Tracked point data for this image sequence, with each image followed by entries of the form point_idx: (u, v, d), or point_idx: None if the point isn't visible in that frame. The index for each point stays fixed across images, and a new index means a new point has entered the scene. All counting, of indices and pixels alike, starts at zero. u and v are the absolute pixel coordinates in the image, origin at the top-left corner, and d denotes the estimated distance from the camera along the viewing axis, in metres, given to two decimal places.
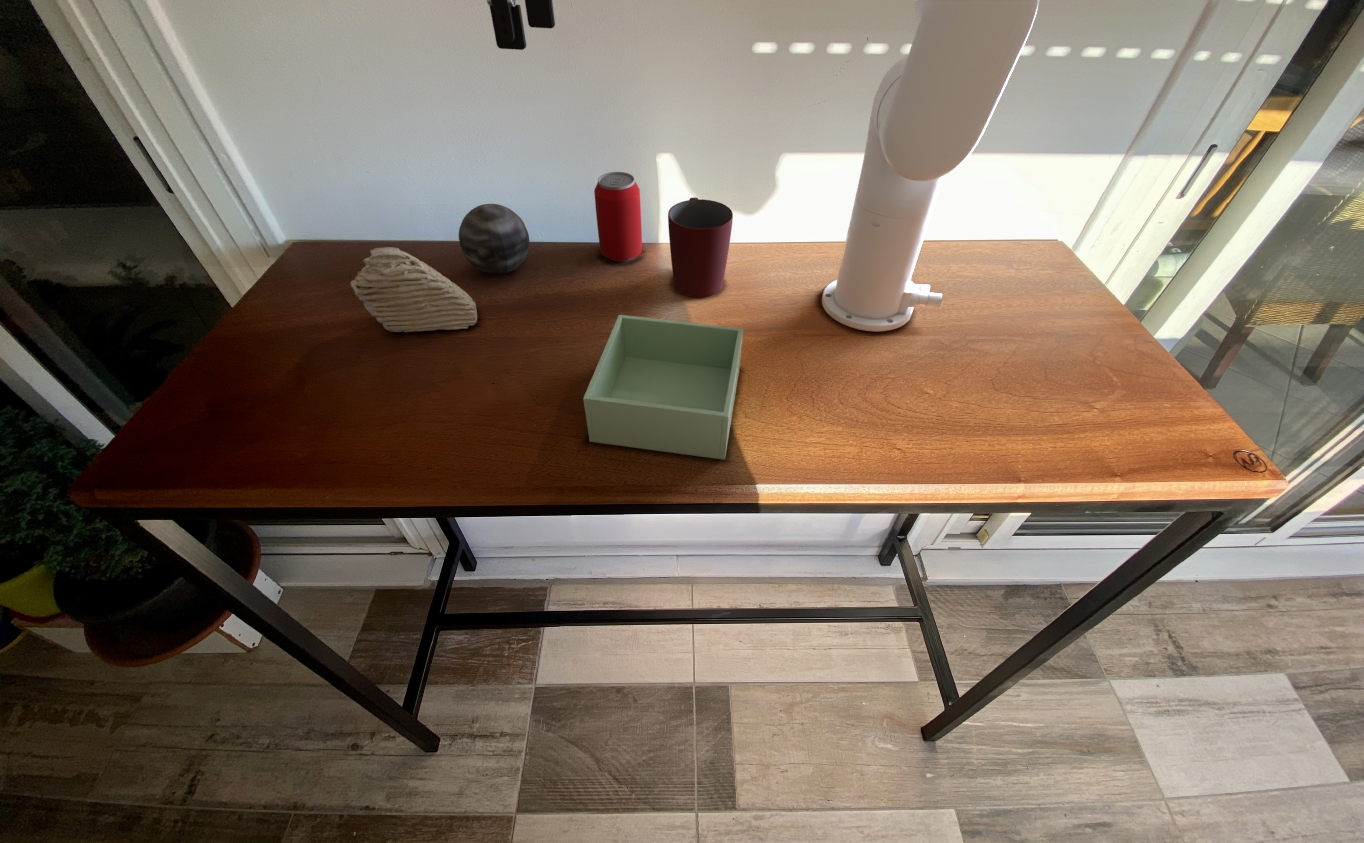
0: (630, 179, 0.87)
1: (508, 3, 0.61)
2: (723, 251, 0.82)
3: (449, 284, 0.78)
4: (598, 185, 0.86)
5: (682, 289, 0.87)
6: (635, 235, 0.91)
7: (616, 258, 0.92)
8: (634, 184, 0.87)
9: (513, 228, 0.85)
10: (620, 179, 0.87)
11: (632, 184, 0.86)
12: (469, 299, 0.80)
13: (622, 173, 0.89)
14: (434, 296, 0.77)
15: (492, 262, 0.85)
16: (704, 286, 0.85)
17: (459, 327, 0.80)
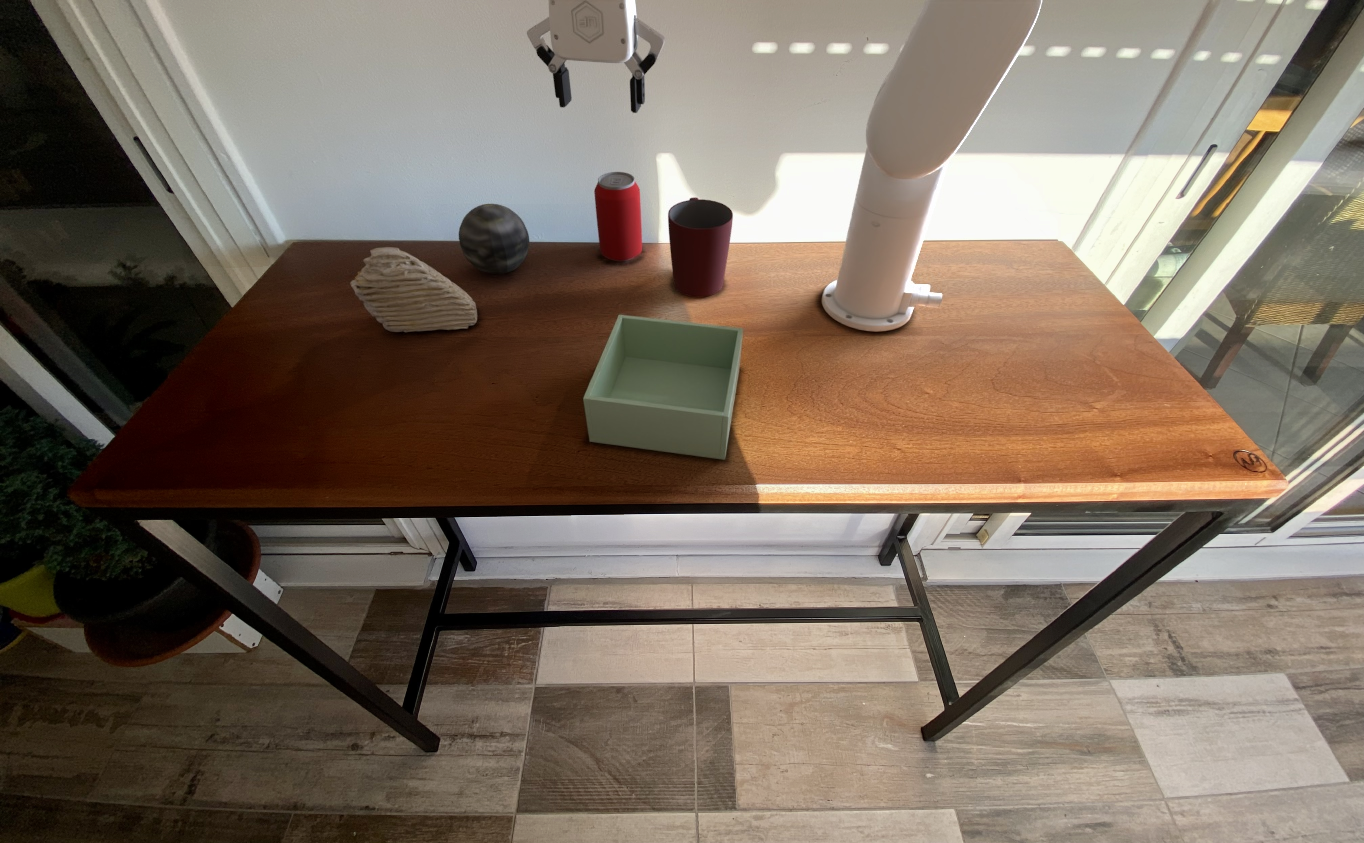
0: (630, 179, 0.87)
1: None
2: (723, 251, 0.82)
3: (449, 284, 0.78)
4: (598, 185, 0.86)
5: (682, 289, 0.87)
6: (635, 235, 0.91)
7: (616, 258, 0.92)
8: (634, 184, 0.87)
9: (513, 228, 0.85)
10: (620, 179, 0.87)
11: (632, 184, 0.86)
12: (469, 299, 0.80)
13: (622, 173, 0.89)
14: (434, 295, 0.77)
15: (492, 262, 0.85)
16: (704, 286, 0.85)
17: (459, 327, 0.80)
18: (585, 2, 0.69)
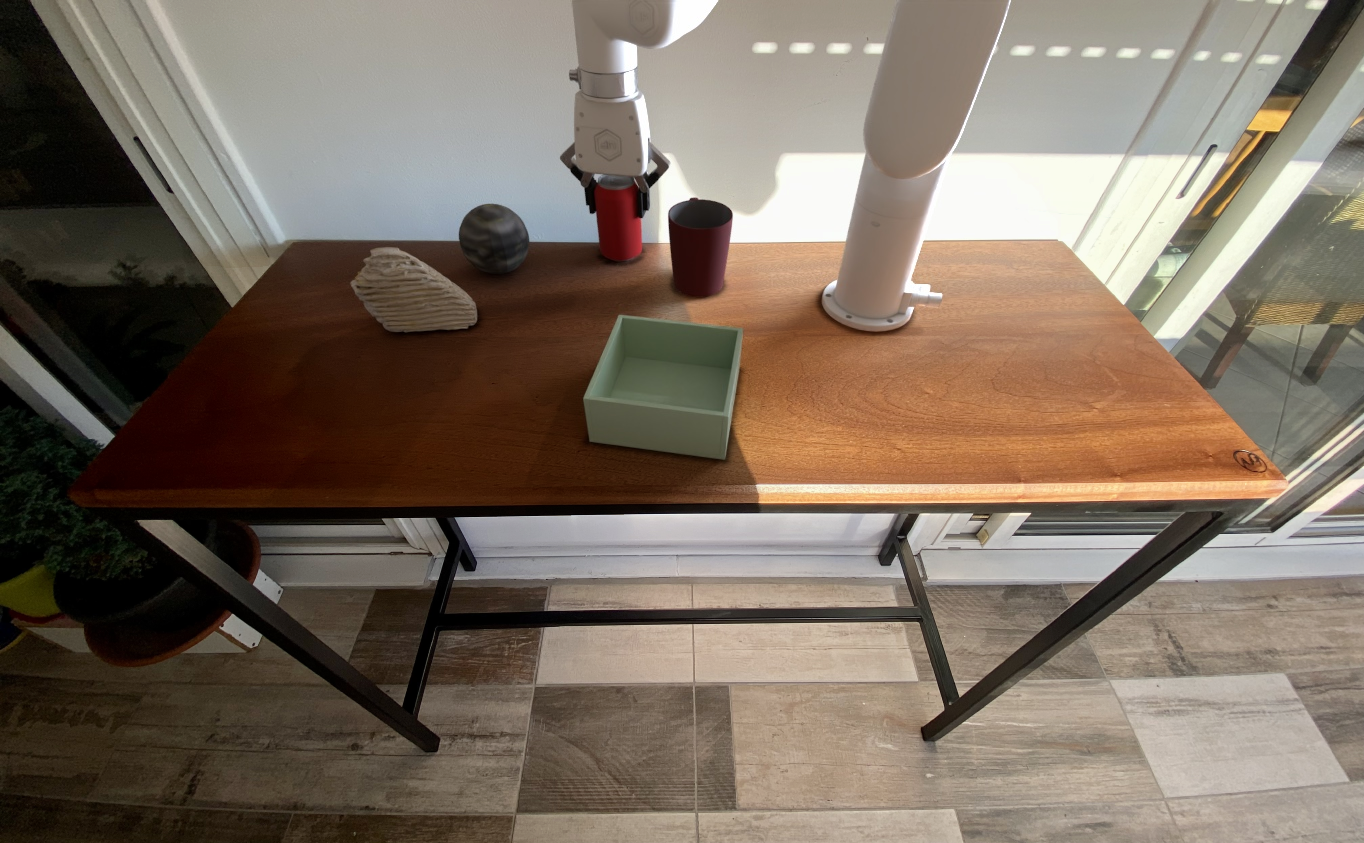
0: (630, 179, 0.87)
1: None
2: (723, 251, 0.82)
3: (449, 284, 0.78)
4: (598, 185, 0.86)
5: (682, 289, 0.87)
6: (635, 235, 0.91)
7: (616, 258, 0.92)
8: (634, 184, 0.87)
9: (513, 228, 0.85)
10: (620, 179, 0.87)
11: (632, 184, 0.86)
12: (469, 299, 0.80)
13: None
14: (434, 295, 0.77)
15: (492, 262, 0.85)
16: (704, 286, 0.85)
17: (459, 327, 0.80)
18: (605, 130, 0.79)
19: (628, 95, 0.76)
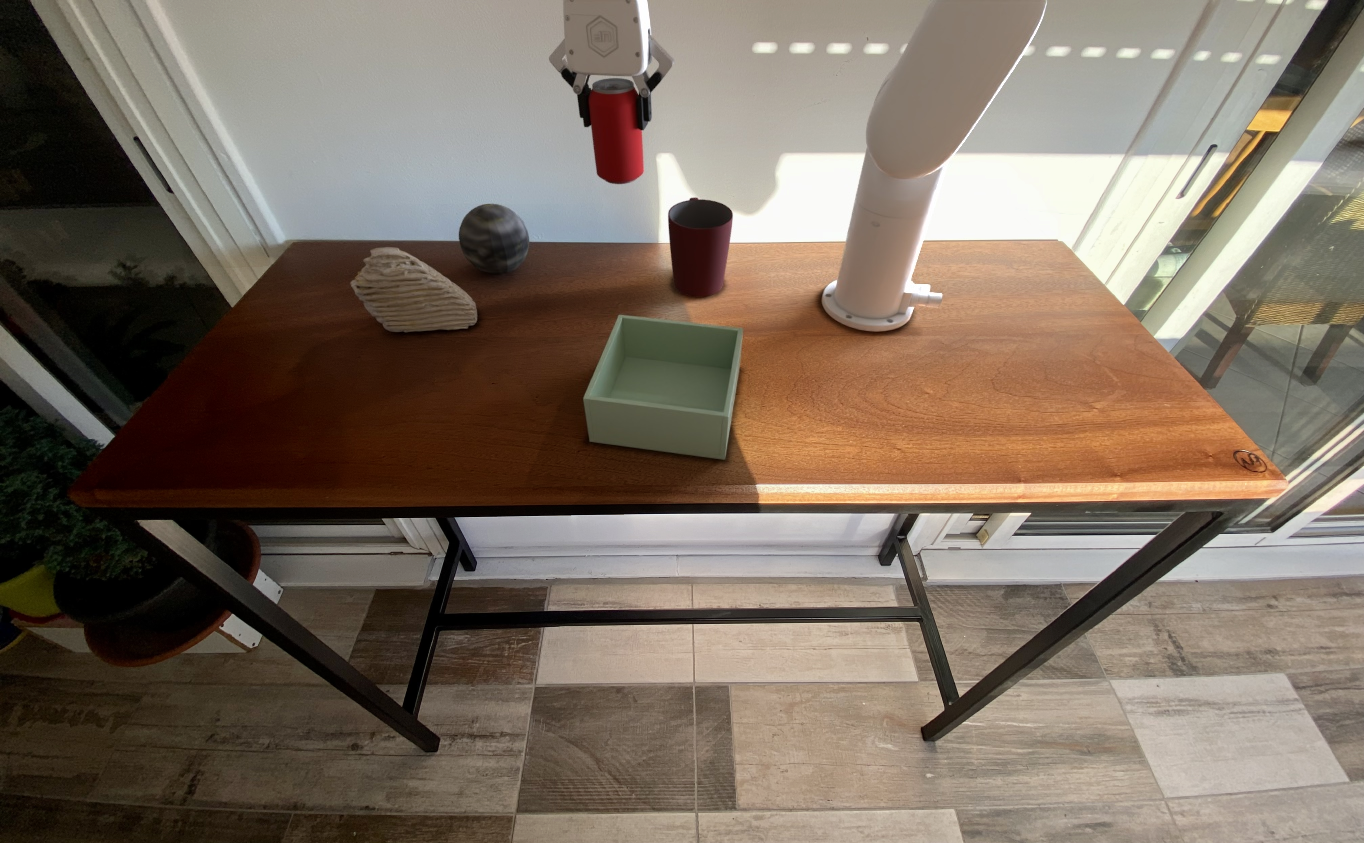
0: (629, 84, 0.77)
1: None
2: (723, 251, 0.82)
3: (449, 284, 0.78)
4: (592, 91, 0.76)
5: (682, 289, 0.87)
6: (635, 151, 0.80)
7: (614, 179, 0.82)
8: (633, 89, 0.77)
9: (513, 228, 0.85)
10: (617, 84, 0.77)
11: (631, 88, 0.76)
12: (469, 299, 0.80)
13: (620, 79, 0.78)
14: (434, 295, 0.77)
15: (492, 262, 0.85)
16: (704, 286, 0.85)
17: (459, 327, 0.80)
18: (599, 17, 0.69)
19: None
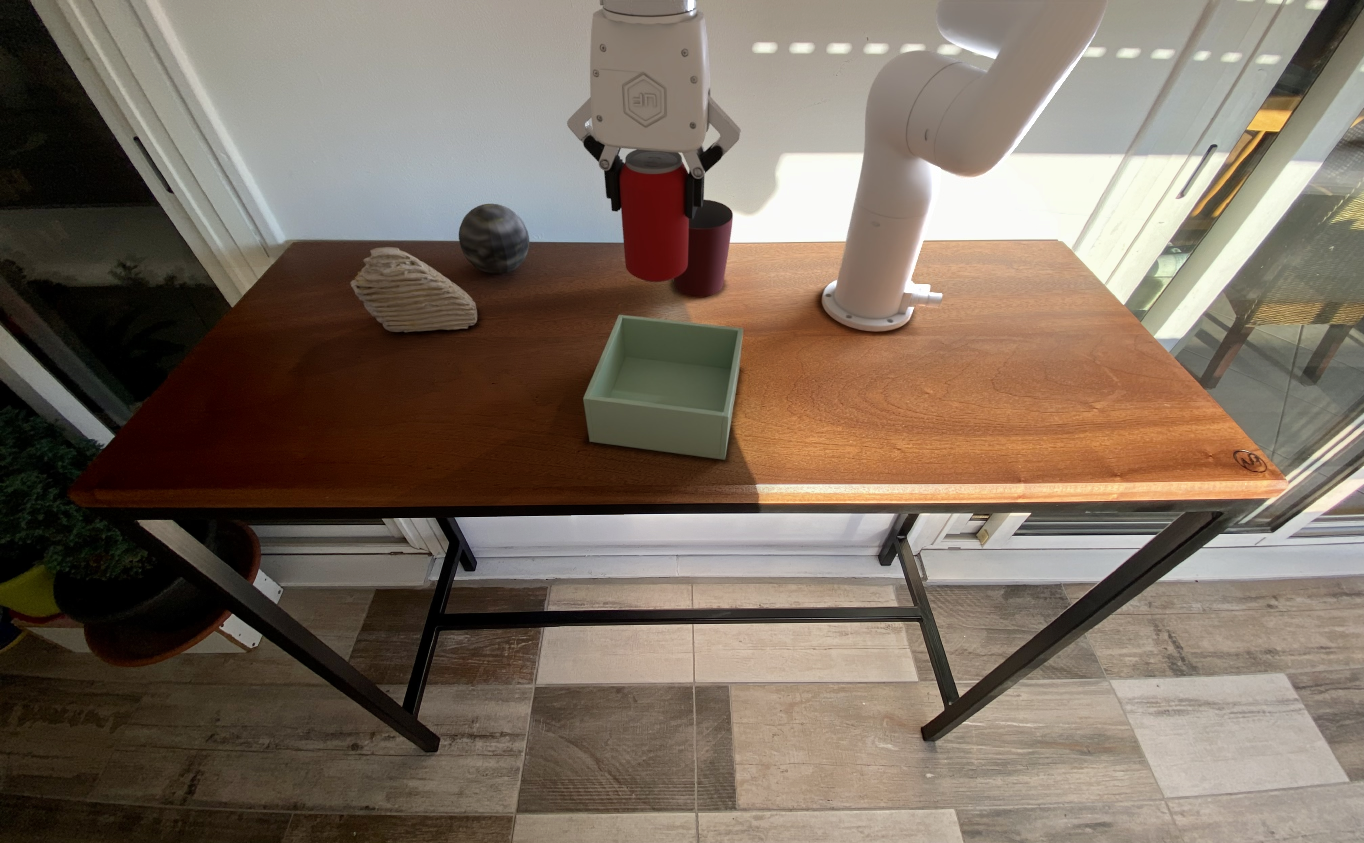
0: (675, 158, 0.57)
1: None
2: (723, 251, 0.82)
3: (449, 284, 0.78)
4: (626, 167, 0.56)
5: (682, 289, 0.87)
6: (680, 244, 0.60)
7: (650, 278, 0.61)
8: (681, 166, 0.56)
9: (513, 228, 0.85)
10: (660, 158, 0.56)
11: (679, 165, 0.55)
12: (469, 299, 0.80)
13: None
14: (434, 295, 0.77)
15: (492, 262, 0.85)
16: (704, 286, 0.85)
17: (459, 327, 0.80)
18: (642, 74, 0.49)
19: (682, 12, 0.46)
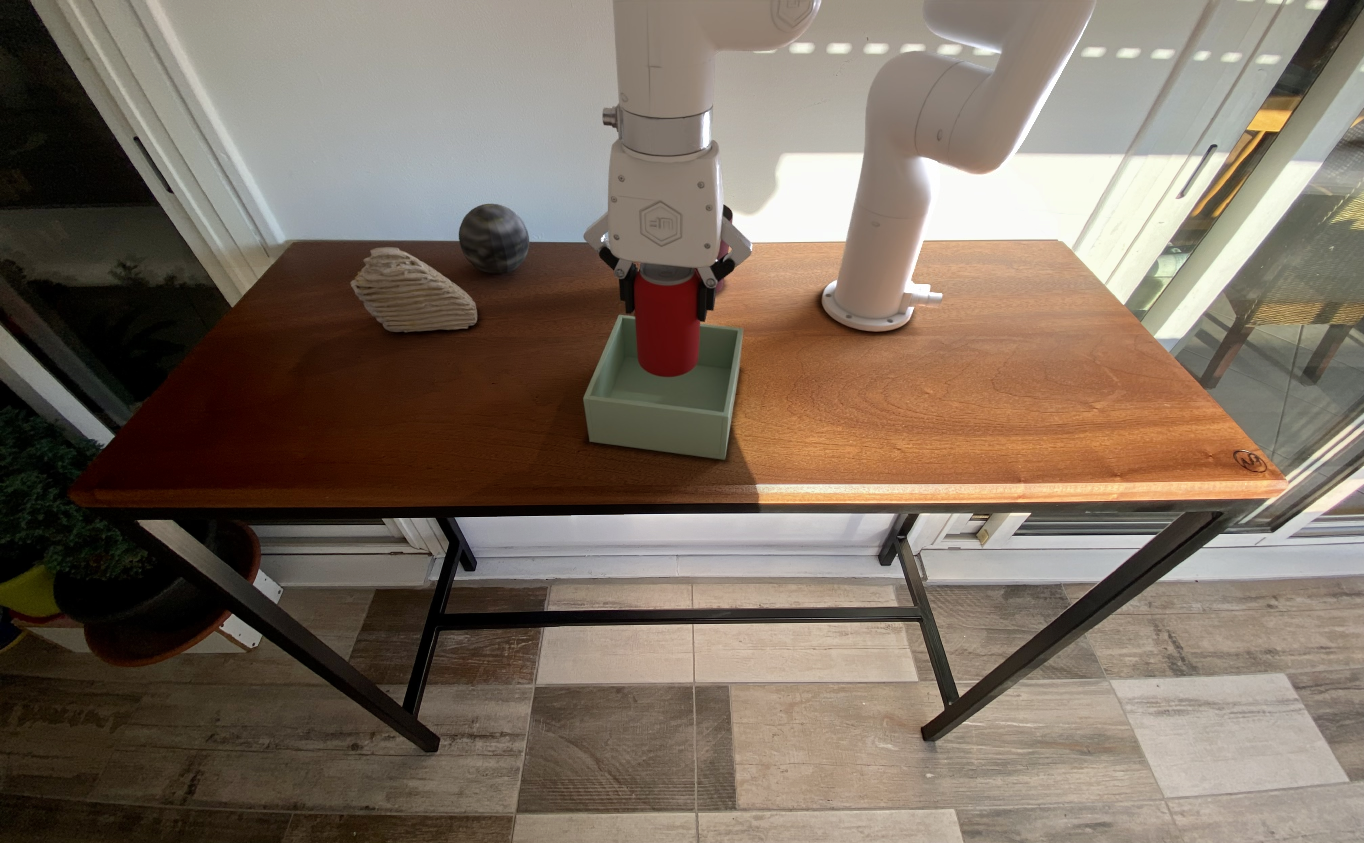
0: None
1: None
2: (723, 251, 0.82)
3: (449, 284, 0.78)
4: (640, 276, 0.57)
5: None
6: (692, 344, 0.62)
7: (663, 375, 0.63)
8: (694, 274, 0.58)
9: (513, 228, 0.85)
10: (673, 266, 0.58)
11: (692, 275, 0.57)
12: (469, 299, 0.80)
13: None
14: (434, 295, 0.77)
15: (492, 262, 0.85)
16: None
17: (459, 327, 0.80)
18: (658, 202, 0.50)
19: (698, 150, 0.47)
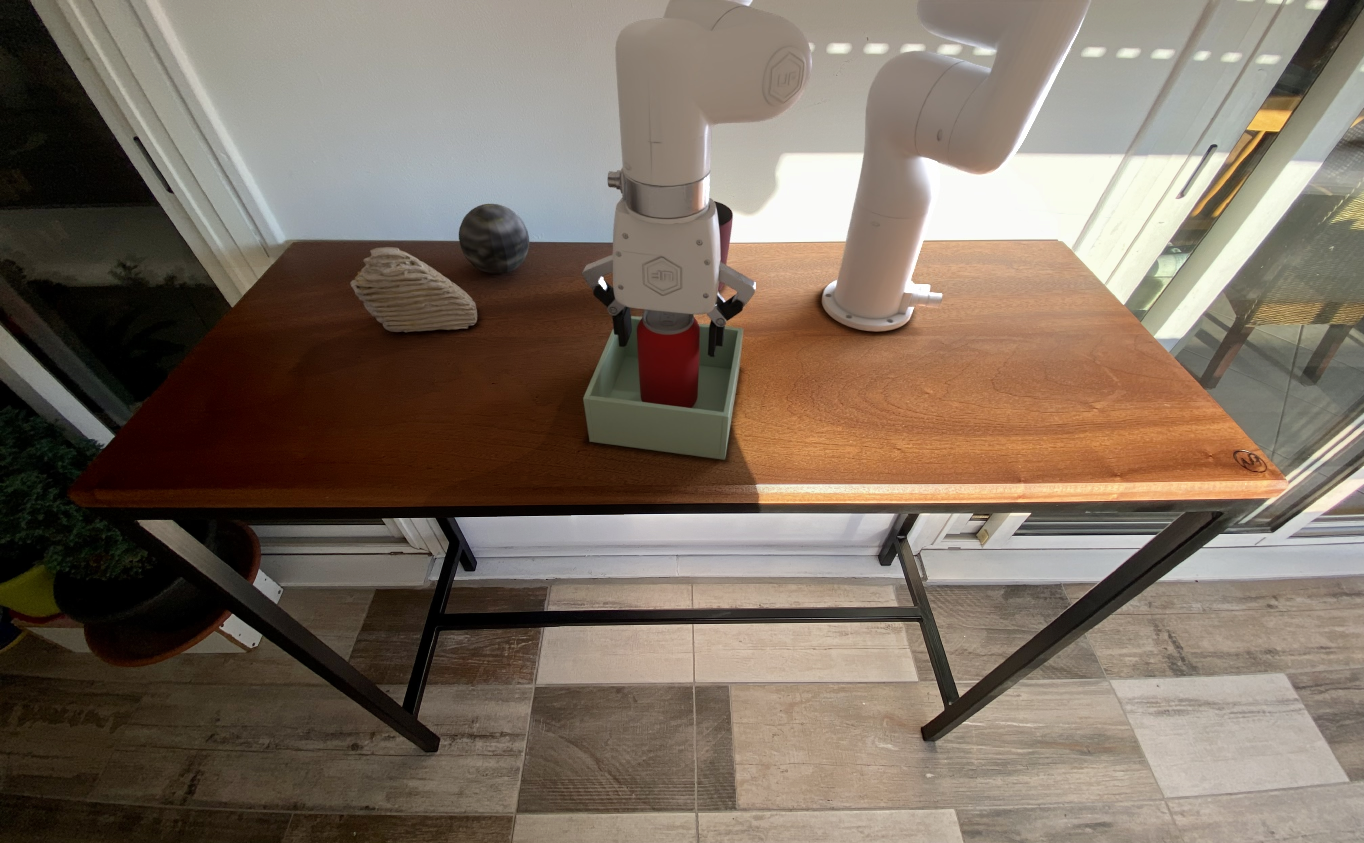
0: (687, 314, 0.62)
1: None
2: (723, 251, 0.82)
3: (449, 284, 0.78)
4: (643, 325, 0.61)
5: None
6: (691, 385, 0.66)
7: None
8: (693, 323, 0.62)
9: (513, 228, 0.85)
10: (673, 315, 0.62)
11: (691, 324, 0.61)
12: (469, 299, 0.80)
13: None
14: (434, 295, 0.77)
15: (492, 262, 0.85)
16: None
17: (459, 327, 0.80)
18: (660, 257, 0.54)
19: (697, 212, 0.51)
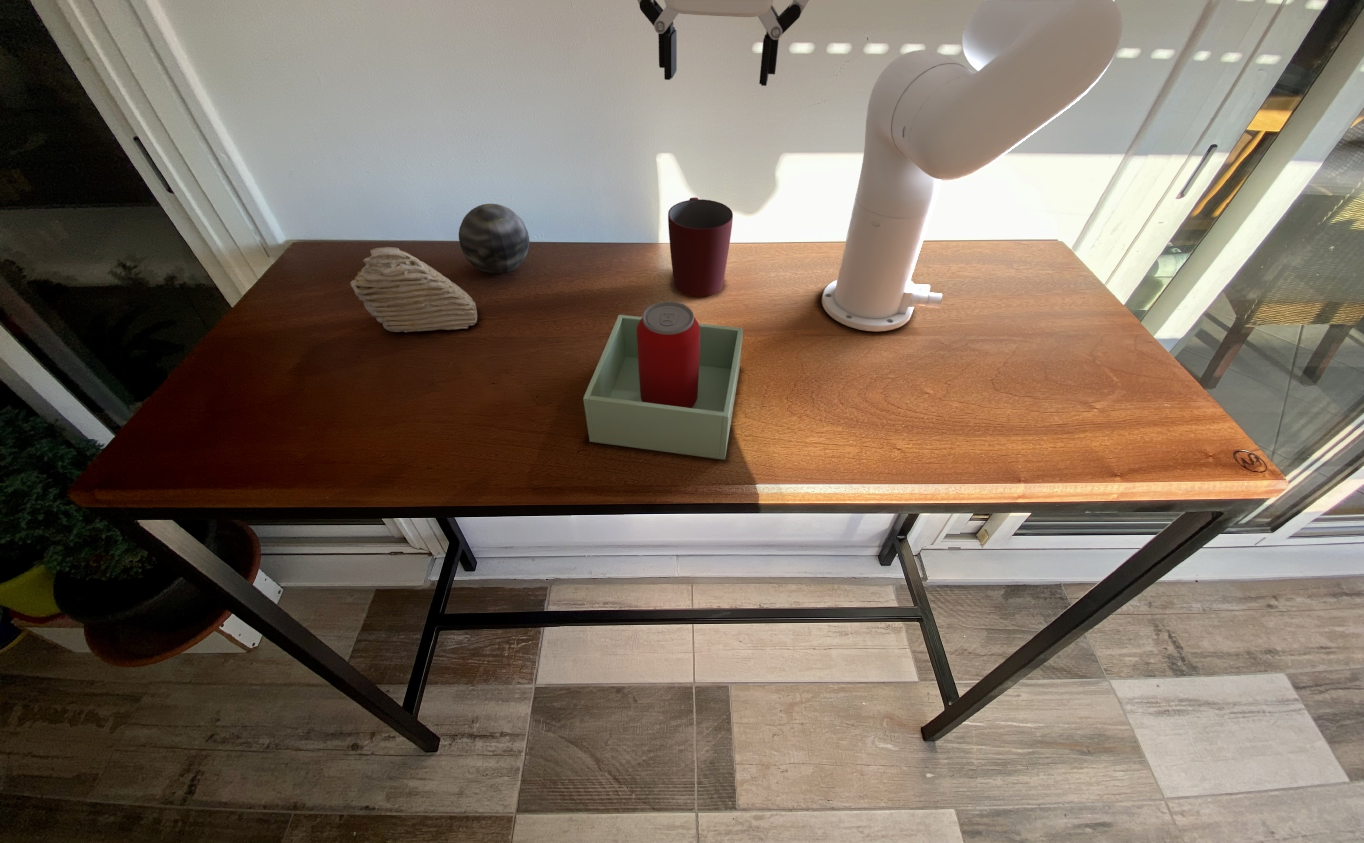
0: (687, 314, 0.62)
1: None
2: (723, 251, 0.82)
3: (449, 284, 0.78)
4: (643, 325, 0.61)
5: (682, 289, 0.87)
6: (691, 385, 0.66)
7: None
8: (693, 323, 0.62)
9: (513, 228, 0.85)
10: (673, 315, 0.62)
11: (691, 323, 0.61)
12: (469, 299, 0.80)
13: (675, 303, 0.64)
14: (434, 295, 0.77)
15: (492, 262, 0.85)
16: (704, 286, 0.85)
17: (459, 327, 0.80)
18: None
19: None
